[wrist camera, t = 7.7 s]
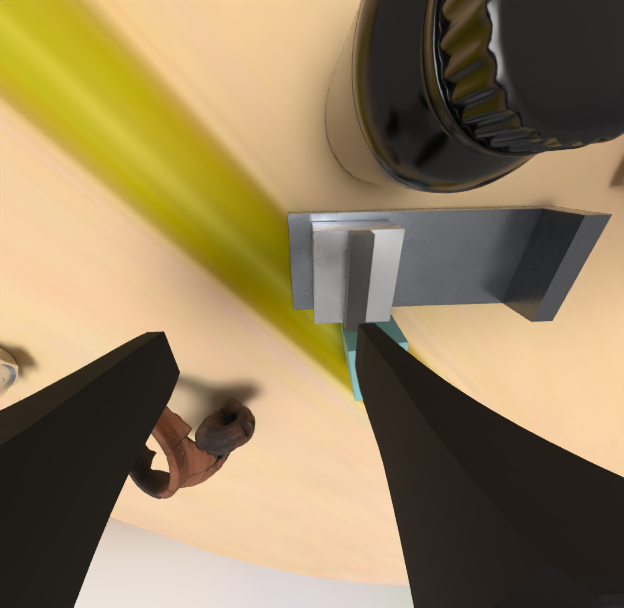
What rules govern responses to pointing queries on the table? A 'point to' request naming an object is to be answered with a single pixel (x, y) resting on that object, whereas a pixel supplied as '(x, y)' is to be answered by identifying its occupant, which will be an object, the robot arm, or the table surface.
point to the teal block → (350, 348)
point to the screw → (7, 372)
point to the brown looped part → (192, 449)
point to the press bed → (470, 255)
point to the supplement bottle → (473, 88)
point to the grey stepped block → (354, 271)
